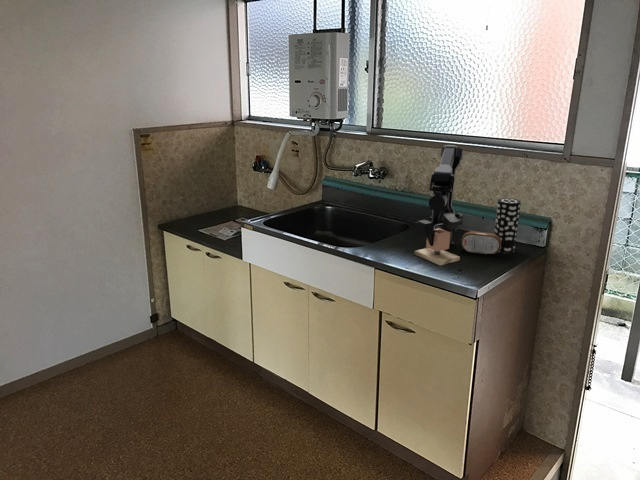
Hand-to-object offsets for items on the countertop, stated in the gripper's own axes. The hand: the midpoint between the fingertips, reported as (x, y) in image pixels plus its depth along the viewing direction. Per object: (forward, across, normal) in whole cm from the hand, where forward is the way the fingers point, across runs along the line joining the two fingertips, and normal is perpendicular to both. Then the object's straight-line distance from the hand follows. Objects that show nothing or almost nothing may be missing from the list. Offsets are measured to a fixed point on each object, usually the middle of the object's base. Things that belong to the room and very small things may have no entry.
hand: (437, 244), depth 197 cm
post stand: (+5, 0, 0) cm, 5 cm away
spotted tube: (+5, +28, -7) cm, 30 cm away
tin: (+6, +18, -5) cm, 19 cm away
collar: (+1, 0, 0) cm, 1 cm away
